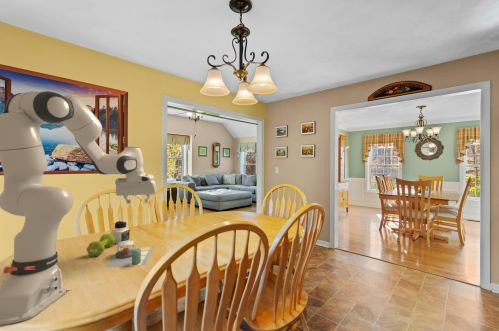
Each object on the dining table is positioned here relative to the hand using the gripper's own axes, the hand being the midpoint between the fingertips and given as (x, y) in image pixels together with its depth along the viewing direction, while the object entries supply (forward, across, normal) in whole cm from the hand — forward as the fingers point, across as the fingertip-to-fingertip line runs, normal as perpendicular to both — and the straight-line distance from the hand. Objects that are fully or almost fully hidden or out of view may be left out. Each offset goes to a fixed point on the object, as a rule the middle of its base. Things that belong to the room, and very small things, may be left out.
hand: (137, 202), depth 126 cm
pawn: (+23, +5, -20) cm, 31 cm away
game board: (+25, 0, -12) cm, 27 cm away
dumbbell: (+25, -20, -3) cm, 32 cm away
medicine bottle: (+27, -17, +12) cm, 34 cm away
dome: (+21, -4, -10) cm, 24 cm away
